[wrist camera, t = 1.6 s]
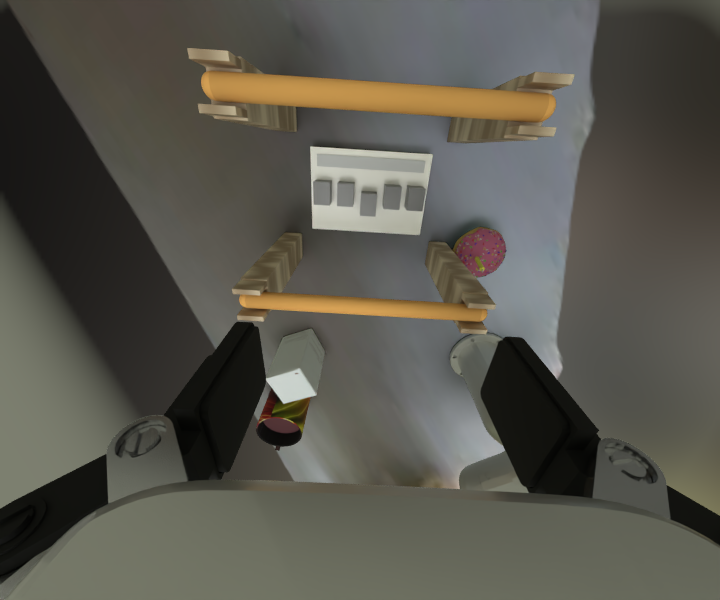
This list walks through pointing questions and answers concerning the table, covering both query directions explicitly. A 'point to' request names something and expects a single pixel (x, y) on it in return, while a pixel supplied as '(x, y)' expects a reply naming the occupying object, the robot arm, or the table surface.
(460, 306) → the orange cylindrical bar
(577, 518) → the robot arm
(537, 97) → the orange rounded rod
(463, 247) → the cupcake
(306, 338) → the supplement box
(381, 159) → the breaker panel
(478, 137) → the wooden post rack
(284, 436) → the mug
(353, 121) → the table surface
